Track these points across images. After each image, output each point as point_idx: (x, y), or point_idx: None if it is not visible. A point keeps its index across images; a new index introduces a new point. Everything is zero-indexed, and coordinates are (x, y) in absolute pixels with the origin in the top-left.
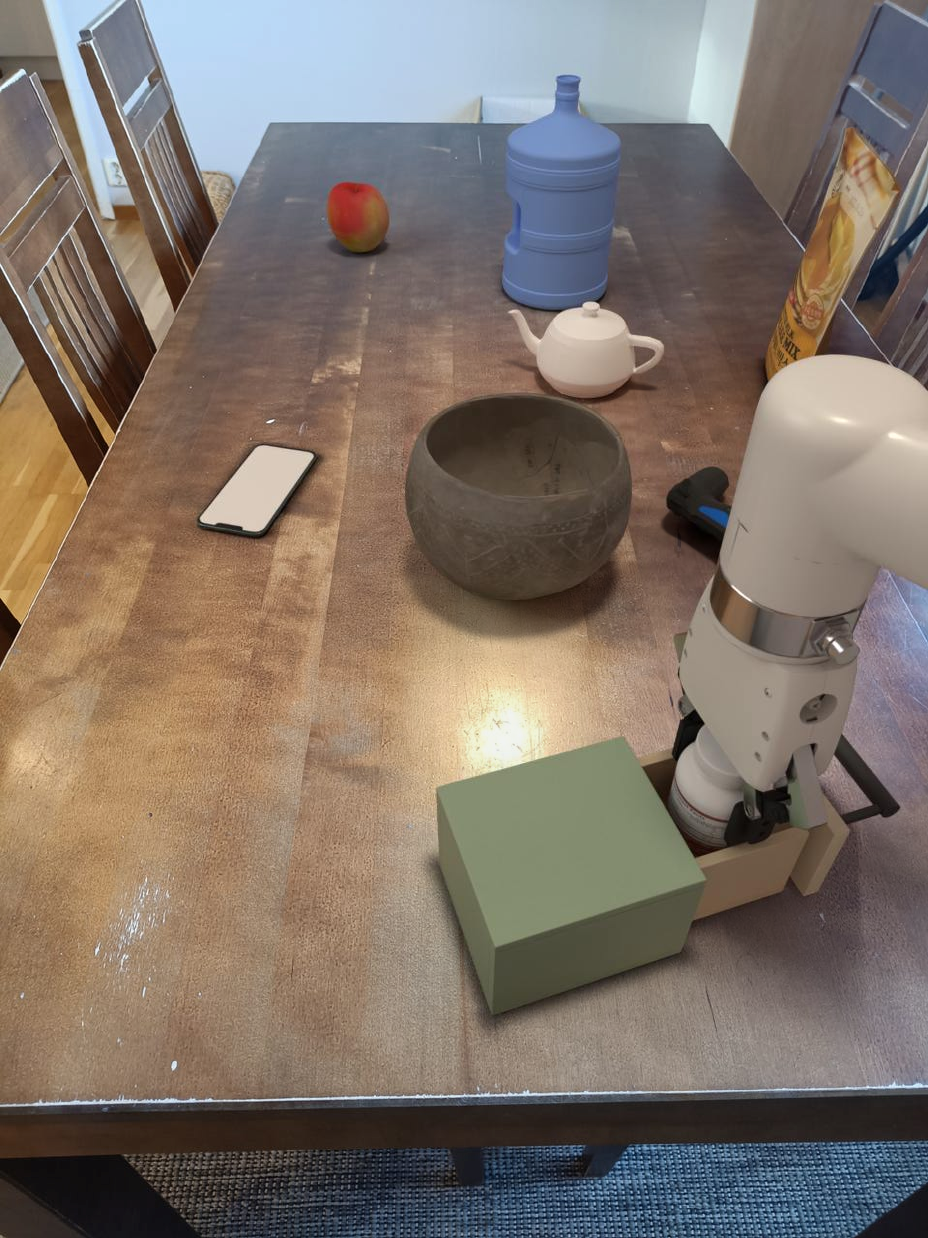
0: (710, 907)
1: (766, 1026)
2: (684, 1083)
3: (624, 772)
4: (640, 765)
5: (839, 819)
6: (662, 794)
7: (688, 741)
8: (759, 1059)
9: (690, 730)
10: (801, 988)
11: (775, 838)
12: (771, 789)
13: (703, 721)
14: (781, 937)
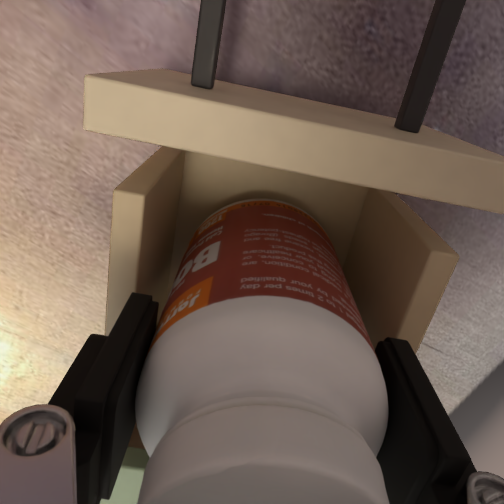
0: None
1: (479, 305)
2: (454, 405)
3: (133, 497)
4: (130, 470)
5: (494, 169)
6: (159, 296)
7: (129, 431)
8: (496, 334)
9: (113, 480)
10: (482, 239)
11: (415, 326)
12: (373, 370)
13: (102, 462)
14: (418, 211)
